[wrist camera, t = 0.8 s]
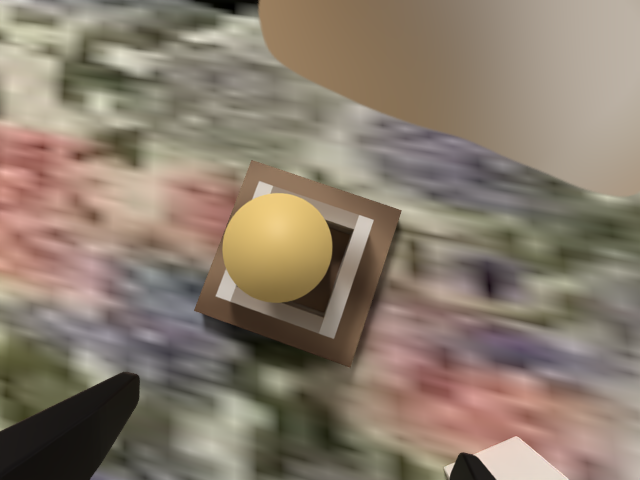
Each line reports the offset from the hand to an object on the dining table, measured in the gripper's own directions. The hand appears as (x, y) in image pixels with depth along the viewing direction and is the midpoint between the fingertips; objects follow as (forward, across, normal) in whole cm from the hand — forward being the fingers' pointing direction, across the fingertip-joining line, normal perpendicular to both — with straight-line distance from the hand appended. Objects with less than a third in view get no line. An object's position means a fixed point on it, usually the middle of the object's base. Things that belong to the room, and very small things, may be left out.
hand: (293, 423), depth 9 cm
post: (+15, +2, +2) cm, 15 cm away
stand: (+17, +2, +2) cm, 17 cm away
